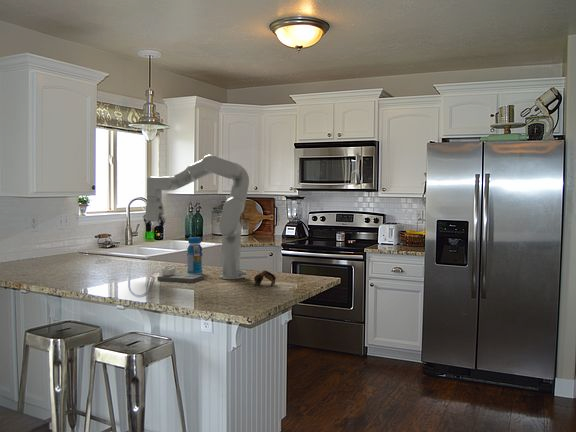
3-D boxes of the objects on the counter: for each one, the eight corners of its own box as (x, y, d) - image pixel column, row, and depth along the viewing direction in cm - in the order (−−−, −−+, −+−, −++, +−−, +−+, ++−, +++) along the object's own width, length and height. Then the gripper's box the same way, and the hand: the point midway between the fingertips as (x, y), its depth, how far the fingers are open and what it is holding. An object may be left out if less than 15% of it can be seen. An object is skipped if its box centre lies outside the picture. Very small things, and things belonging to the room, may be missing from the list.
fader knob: (175, 273, 271) (175, 267, 270) (169, 275, 265) (169, 268, 265) (168, 273, 272) (168, 266, 272) (162, 275, 266) (162, 268, 266)
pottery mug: (259, 283, 258) (268, 269, 258) (272, 294, 253) (281, 280, 252) (245, 281, 248) (254, 266, 247) (259, 292, 243) (268, 277, 242)
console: (203, 278, 269) (203, 274, 269) (192, 282, 258) (192, 278, 258) (169, 276, 275) (169, 272, 275) (157, 280, 264) (157, 276, 264)
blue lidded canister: (184, 274, 282) (184, 237, 281) (191, 272, 290) (190, 236, 289) (199, 275, 280) (198, 238, 279) (205, 272, 288) (204, 236, 287)
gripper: (170, 200, 272) (170, 233, 273) (149, 199, 282) (149, 230, 283) (159, 200, 266) (159, 233, 266) (138, 199, 276) (138, 231, 277)
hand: (154, 232), depth 275 cm, fingers open, 9 cm apart
